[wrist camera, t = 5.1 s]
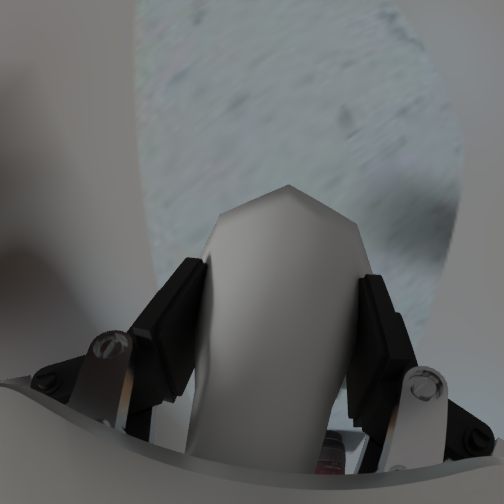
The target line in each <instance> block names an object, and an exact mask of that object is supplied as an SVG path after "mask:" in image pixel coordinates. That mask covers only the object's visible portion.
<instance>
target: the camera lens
mask: <svg viewBox="0 0 504 504" xmlns="http://www.w3.org/2000/svg"><path fill="white" fill-rule="evenodd" d="M345 462H346V457H345V447H344V444H343V443H342V438H341V435H340V434H338V433H336V432H333V431H326V434H325V437H324V441H323V445H322V448H321V452H320V455H319V458H318V462H317V465H316V468H315V472H314V474H319V475H345Z"/></svg>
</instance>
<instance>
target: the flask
mask: <svg viewBox="0 0 504 504" xmlns="http://www.w3.org/2000/svg"><path fill="white" fill-rule="evenodd" d="M200 259H202V260H203V263H207V265H208V267H207V271H206V276H205V280H204V285H203V290H202V294H201V299H200V304H199V309H198V314H197V319H196V324H195V393H194V399H193V405H192V411H191V417H190V423H189V430H188V436H187V442H186V449H185V453H184V454H186V455H190V456H194V457H198V458H202V459H206V460H210V461H214V462H219V463H224V464H229V465H234V466H240V467H246V468H252V469H259V470H266V471H275V472H285V473H298V474H314V472H315V468H316V465H317V462H318V458H319V455H320V452H321V448H322V445H323V441H324V437H325V434H326V430H327V426H328V422H329V418H330V414H331V410H332V406H333V404H334V402H335V399H336V397H337V394H338V392H339V389H340V387H341V384H342V382H343V379H344V377H345V374H346V371H347V369H348V366H349V363H350V361H351V358H352V355H353V352H354V349H355V346H356V343H357V329H358V305H359V278H364V276H365V275H366V274H373V273H372V270H371V267H370V263H369V260H368V257H367V254H366V251H365V248H364V244H363V241H362V238H361V236H360V233H359V230H358V227H357V224H356V223H354V222H352V221H351V220H349V219H347V218H346V217H344V216H343V215H341V214H339V213H338V212H336V211H334V210H333V209H331V208H329V207H328V206H326V205H324V204H323V203H321V202H319V201H317V200H316V199H314V198H312V197H310V196H309V195H307V194H305V193H303V192H302V191H300V190H298V189H296V188H295V187H293V186H291V185H286V186H284V187H282V188H279V189H277V190H275V191H272V192H270V193H268V194H265V195H263V196H261V197H258V198H256V199H254V200H252V201H249V202H247V203H245V204H243V205H240V206H238V207H236V208H234V209H231V210H229V211H227V212H225V213H223V214H220V215H219V217H218V220H217V222H216V224H215V226H214V228H213V230H212V233H211V235H210V237H209V239H208V241H207V243H206V246H205V248H204V250H203V252H202V255H201V257H200Z"/></svg>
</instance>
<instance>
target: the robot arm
mask: <svg viewBox="0 0 504 504" xmlns="http://www.w3.org/2000/svg"><path fill="white" fill-rule="evenodd" d="M207 267H208V265H207V263H203V260H202V259H199V258H189V257H187V258H185V260H184V261H183V262H182V263H181V265H180V266H179V267H178V268H177V269H176V271H175V272H174V273H173V274H172V276H171V277H170V278H169V279H168V281H167V282H166V283H165V285H164V286H163V287H162V288H161V289H160V290H159V291H158V292H157V293H156V295H155V296H154V298H153V299H152V300H151V301H150V302H149V304H148V305H147V307H146V308H145V309H144V310H143V312H142V313H141V314H140V316H139V317H138V318H137V319H136V321H135V322H134V323H133V325H132V326H131V327H130V329H129V330H128V331H127V333H126V332H123V331H120V330H111V331H107V332H103V333H101V334H99V335H98V336H96V337H95V338H94V339H93V340H92V342H91V343H90V345H89V348H88V350H87V353H86V355H83V356H80V357H76V358H73V359H70V360H66V361H63V362H60V363H56V364H53V365H49V366H47V367H44V368H42V369H40V370H39V371H37V372H36V374H35V375H34V376H33V377H32V376H31V375H28V376H23V377H17V378H12V379H6V380H0V504H504V440H502V439H500V438H497V439H496V440H495V438H494V435H493V432H492V430H491V429H490V427H489V426H488V425H486V424H485V423H484V422H482V421H481V420H479V419H478V418H476V417H475V416H473V415H472V414H470V413H469V412H467V411H466V410H464V409H463V408H461V407H460V406H458V405H457V404H455V403H454V402H452V401H451V400H449V399H448V387H447V382H446V380H445V379H444V377H443V376H442V375H441V374H440V373H439V372H438V371H436V370H435V369H433V368H430V367H426V366H418V364H417V360H416V357H415V354H414V351H413V348H412V344H411V341H410V338H409V335H408V333H407V330H406V327H405V324H404V321H403V318H402V316H401V314H400V313H398V312H395V310H394V307H393V304H392V302H391V299H390V296H389V293H388V291H387V288H386V286H385V283H384V280H383V278H382V276H381V275H373V274H366V275H365V276H364V278H359V305H358V329H357V343H356V346H355V349H354V352H353V355H352V358H351V361H350V363H349V366H348V369H347V371H346V381H347V401H348V417H349V419H353V427H362V431H363V432H364V433H366V434H367V436H366V439H365V442H364V445H363V448H362V451H361V454H360V457H359V460H358V463H357V466H356V468H355V471H354V474H350V475H319V474H298V473H285V472H275V471H266V470H259V469H252V468H246V467H240V466H234V465H229V464H224V463H219V462H214V461H210V460H206V459H202V458H198V457H194V456H190V455H186V454H183V453H179V452H176V451H173V450H169V449H166V448H163V447H160V446H157V445H154V444H155V430H156V418H157V407H158V405H159V404H161V403H162V401H163V400H164V401H167V402H171V403H174V402H175V399H176V397H177V396H182V394H183V392H184V390H185V388H186V386H187V383H188V381H189V379H190V376H191V374H192V372H193V370H194V367H195V324H196V319H197V314H198V309H199V304H200V299H201V294H202V290H203V285H204V280H205V276H206V271H207Z"/></svg>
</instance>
